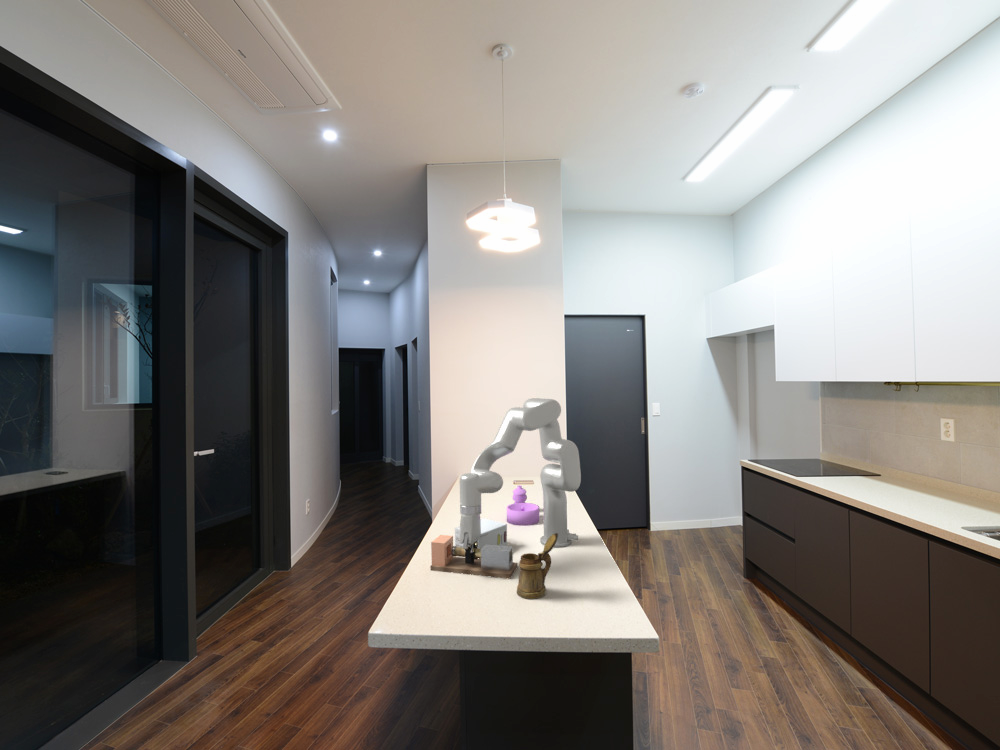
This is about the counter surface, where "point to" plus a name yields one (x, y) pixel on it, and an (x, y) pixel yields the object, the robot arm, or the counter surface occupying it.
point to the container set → (522, 509)
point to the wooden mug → (535, 571)
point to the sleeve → (497, 557)
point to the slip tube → (461, 552)
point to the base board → (473, 568)
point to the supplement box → (487, 534)
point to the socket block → (442, 550)
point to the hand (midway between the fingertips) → (471, 560)
